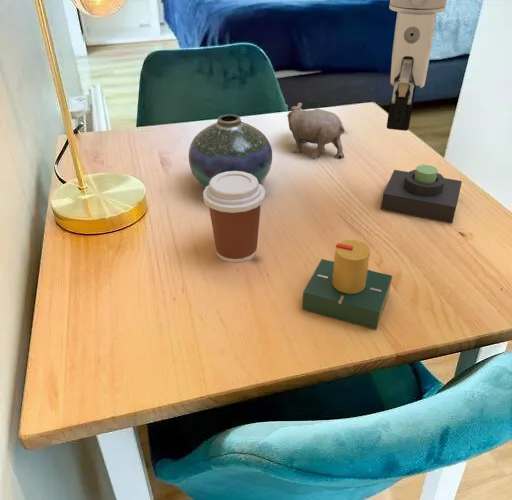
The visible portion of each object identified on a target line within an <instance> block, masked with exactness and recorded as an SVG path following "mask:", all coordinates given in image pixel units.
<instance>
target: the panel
mask: <svg viewBox="0 0 512 500" xmlns="http://www.w3.org/2000/svg"><path fill="white" fill-rule="evenodd" d="M333 267H334V260H333V261H332V260H329V259H324V258H321V260H320V261H319V263H318V264H317V266H316V268H315V271H314V272H313V274H312V275H311V277H310V279H309V281H308V283H307V284H306V286H305V288H304V290H303V292H302V307H301V310H303V311H306V312H311V313H315V314H318V315H322V316H325V317H329V318H332V319H336V320H339V321H342V322H343V321H344V322H347V323H351V324H354V325H358V326H361V327H364V328H369V329H373V330H376V331H377V330H378V327H379V324H380V321H381V319H382V315H383V312H384V309H385V306H386V303H387V302H388V297H389V295H390V292H391V285H392V279H393V275H391V274H388V273H382V272H379V271H374V270H370V269H368V272H367V279H366V286H365V288H364V289H363V290H362V291H361V292H359V293H355V294H347V293H343V292H340V291H338V290H337V289H335V288H334V286H333V284H332V277H333Z"/></svg>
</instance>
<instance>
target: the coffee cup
mask: <svg viewBox="0 0 512 500" xmlns="http://www.w3.org/2000/svg"><path fill="white" fill-rule="evenodd" d="M266 194H267V193H266V190H265V187H264V185H262V184H259V182H258V180H257V178H256V177H254V176H253V175H252V174H249V173H246V172H242V171H228V172H223V173H220V174H218V175H216V176H214V177H213V178H212V179H211V180H210V182H209V185H208V186H207V187H206V188H205V187H204V190H203V191H202V199H203V203H205V205H206V206H208V210H209V216H210V221H211V222H210V223H211V226H212V233H213V239H214V244H215V245H214V246H215V253H216V256H217V257H218V258H219V259H221V260H223V261H225V262H227V263H235V264H236V263H243V262H247V261H249V260H251V259H252V258H254V257H255V256H256V254H257V251H258V240H259V230H260V229H259V228H260V220H261V219H260V217H261V206H262V205H263V204H264V202H265V199H266V197H267V195H266Z"/></svg>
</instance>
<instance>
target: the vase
mask: <svg viewBox="0 0 512 500" xmlns="http://www.w3.org/2000/svg"><path fill="white" fill-rule="evenodd" d="M216 121H217V122H215V123H212V124H210V125H208V126H207V127H205V128H204V129H202V130H200V131H199V132H198V133H197V134H196V135H195V136H194V138H193V140H192V141H191V143H190V146H189V149H188V163H189V167H190V170H191V172H192V175H193V176H194V178H195V180H196V181H198V183H199V184H200V185H201V186H202V187H204V189H205V188H206V187H207V186H208V185H209V182H210V180H211V179H212V178H213V177H214V176H216V175H218V174H220V173H223V172H228V171H242V172H246V173H249V174H252V175H253V176H254V177H256V178H257V180H258V182H259V184H260V185H262V183H263V182H264V180H265V179H266V178H267V176H268V175H269V173H270V171H271V167H272V164H273V148H272V145H271V143H270V141H269V139H268V137H267V136H266V135H265V134H264V133H263V132H262V131H260V130H259V129H258V128H256V127H254V126H253V125H250V124H249V123H247V122H243V121H242V120H241V117H240V116H239V115H237V114H232V113H231V114H228V113H227V114H222V115H219V116H218V117H217V120H216Z"/></svg>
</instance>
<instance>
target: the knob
mask: <svg viewBox="0 0 512 500" xmlns="http://www.w3.org/2000/svg"><path fill="white" fill-rule="evenodd" d="M370 257H371V248H370V247H369V246H368V244H366V243H364V242H362V241H360V240H354V239H347V240H342V241H340V242H337V243H336V244H335V248H334V258H333V262H334V267H333V277H332V284H333V286H334V288H335V289H337V290H338V291H340V292H343V293H347V294H355V293H359V292H361V291H362V290H363V289H364V288H365V286H366V279H367V272H368V270H369V266H370Z"/></svg>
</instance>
